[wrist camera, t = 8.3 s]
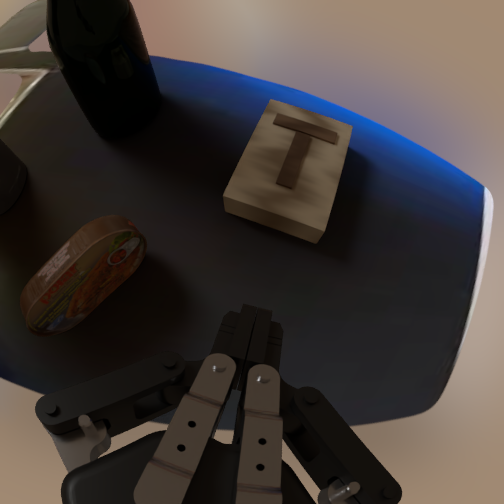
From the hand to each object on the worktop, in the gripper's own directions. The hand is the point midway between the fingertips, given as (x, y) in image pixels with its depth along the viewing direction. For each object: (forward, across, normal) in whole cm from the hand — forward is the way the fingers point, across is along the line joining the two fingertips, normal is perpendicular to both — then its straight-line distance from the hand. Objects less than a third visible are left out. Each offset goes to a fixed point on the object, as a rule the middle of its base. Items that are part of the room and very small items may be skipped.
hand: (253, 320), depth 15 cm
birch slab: (+16, 0, +1) cm, 16 cm away
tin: (+10, +16, +10) cm, 21 cm away
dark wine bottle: (+26, +23, -6) cm, 35 cm away
